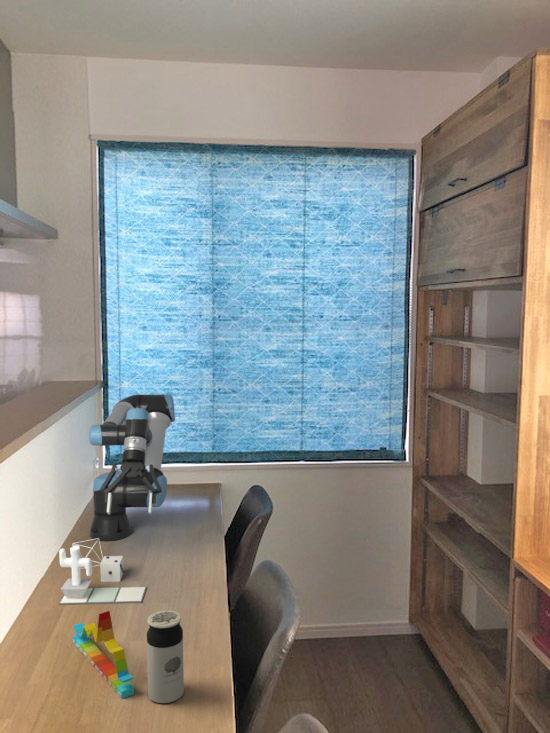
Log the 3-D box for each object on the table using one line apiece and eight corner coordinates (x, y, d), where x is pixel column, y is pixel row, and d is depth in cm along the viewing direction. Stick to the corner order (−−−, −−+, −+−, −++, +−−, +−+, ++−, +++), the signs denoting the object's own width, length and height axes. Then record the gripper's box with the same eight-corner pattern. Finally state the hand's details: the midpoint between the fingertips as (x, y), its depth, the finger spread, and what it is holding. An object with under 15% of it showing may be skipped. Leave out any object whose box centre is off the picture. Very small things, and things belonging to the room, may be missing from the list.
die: (104, 574, 212) (104, 554, 211) (124, 573, 212) (124, 554, 211) (100, 582, 205) (99, 563, 205) (121, 582, 206) (120, 562, 205)
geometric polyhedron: (107, 559, 224) (106, 537, 223) (100, 569, 215) (100, 547, 214) (76, 559, 224) (76, 538, 223) (69, 570, 215) (68, 548, 214)
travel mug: (144, 688, 150) (142, 613, 148) (178, 680, 153) (177, 606, 151) (152, 708, 143) (151, 629, 141) (187, 699, 146) (186, 622, 144)
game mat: (67, 589, 200) (67, 588, 200) (146, 587, 202) (146, 586, 202) (58, 604, 190) (58, 603, 190) (141, 602, 192) (141, 601, 192)
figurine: (89, 600, 192) (87, 551, 190) (57, 600, 192) (55, 551, 190) (95, 589, 199) (94, 542, 198) (65, 589, 199) (63, 542, 198)
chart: (71, 643, 170) (70, 588, 168) (83, 639, 172) (82, 584, 170) (120, 700, 146) (119, 636, 144) (134, 695, 148) (132, 632, 146)
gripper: (95, 448, 221) (88, 510, 211) (170, 448, 222) (166, 510, 213) (99, 454, 227) (93, 515, 218) (171, 455, 229) (168, 515, 220)
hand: (129, 513), depth 215 cm, fingers open, 13 cm apart
